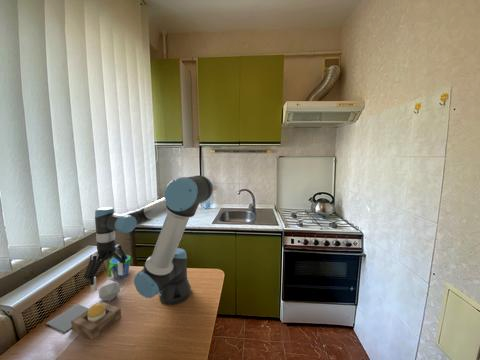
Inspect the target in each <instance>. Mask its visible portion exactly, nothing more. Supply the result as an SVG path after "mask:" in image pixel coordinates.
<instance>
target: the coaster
mask: <svg viewBox="0 0 480 360" xmlns="http://www.w3.org/2000/svg"><path fill="white" fill-rule="evenodd" d="M89 308H90V307H86V306H85V305H81V304H79V303H77V304H75V305H74V306H72V307H69V309H67V310H65V311H64V312H62V313H60V314H59V315H57V316H55V317H54V318H51V319H50V320H48V321H47V322H45V325H46V324H47V326H48V325H49V327H50V326H51V327H50V328H53V329H55V330H57V331H58V332H61V333H63V334H66V333H67V332H69V331H70V330H72V325H71V321H72V320H73V319H75V318H76V317H78V316H80V315H81V314H83V313H84V312H86V311H87V310H89Z"/></svg>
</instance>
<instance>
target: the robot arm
mask: <svg viewBox="0 0 480 360" xmlns="http://www.w3.org/2000/svg"><path fill="white" fill-rule="evenodd" d="M213 188H214V186H213V184H212V182H211V180H210V179H209V178H208V177H206V176H204V175H199V174H198V175H193V176H183V177H178V178H176V179H173V180H171V181H170V182H169V183H168V184H167V185H166V187H165V189H164V192H163V197H162V198H160V199H157V200H155V201H154V202H152V203H149V204H147V205H145V206H143V207H141V208H138V209H135V210H131V211H128V212H123V213H116V212H115V208H114V207H112V206H103V207H99V208H97V209H96V210H95V211H94V223H95V234H96V235H95V236H96V237H95V238H96V250H97V253H95V254H90V256H89V262H88V263H87V267H86V270H85V272H84V275H83V279H84V280H85V279H86V280H88V285H89V286H90V291H93V292H97V291H98V289H97V288H98V286H97V277H96V275H97V273H98V271H99V270H100V267H101V266H102V264H104V262H105V261H107V260H109V259H112V258H115V259H117V260H118V261H120V262H118V275H121V276H122V275H123V268H124V263H125V260H126V259H127V256H126V255H127V254H126V253H125V252H124V250H123V249H122V245H121V244H117V242H116V232H119V233H132V231H134V229H136V227H137V226H139V225H142V224H145V223H148V222H151V221H152V220H154V219H156V218H159V217H161V216H164V215H165V219H164V222H163V224H162V227H161V230H160V232H159V236H158V238H157V241H156V243H155V246H154V249H153V252H152V254H151V255H150V256H149V257H148V258H146V261H145V262H144V264H143V268H142V270H140V271H138V272H137V273H136V274H135V276H134V277H133V283H134V284H133V285H134V287H135V289H136V291H137V293H138V294H140V295H141V296H142V297H144V298H146V299H151V298H152V299H153V298H154V297H155V296H156V295H158V294H159V295H158V296H159V301H160V302H161V303H163V304H166V305H177V304H181V303H183V302H185V301H186V300H187V299H189V297H190V296H191V294H192V288H191V284H190V282H189V279H188V263H187V262H188V261H187V260H188V257H187V252H186V250H185V249H184V248H179V244H180V242H181V239H182V237H183V234H184V232H185V230H186V227H187V224H188V223H189V220H190V218H192V217H194V216H195V215H196V212H197V209H198V208H199V205H200V204H203V203H205V202H206V201H208V200H209V199H210V198H211V197H212V194H213V190H214V189H213ZM116 252H117V253H118V254H119V255H118V254H117V253H116ZM119 256H121V257H122V258H121V257H119Z"/></svg>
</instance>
